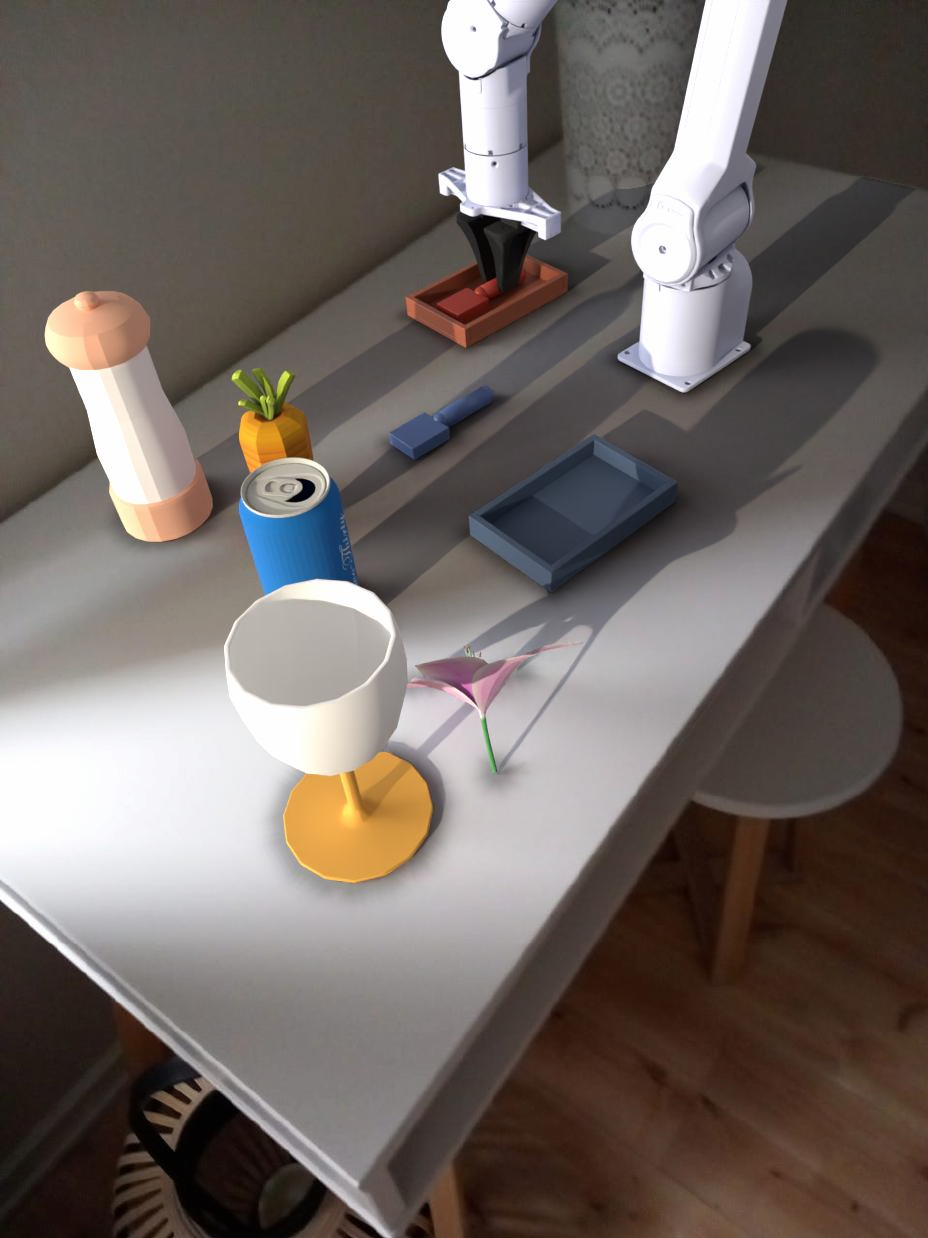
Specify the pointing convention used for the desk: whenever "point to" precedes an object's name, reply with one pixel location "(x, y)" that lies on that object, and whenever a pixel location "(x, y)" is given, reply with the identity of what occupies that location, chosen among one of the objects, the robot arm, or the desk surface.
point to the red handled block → (472, 300)
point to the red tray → (503, 308)
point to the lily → (474, 680)
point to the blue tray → (572, 511)
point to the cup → (332, 723)
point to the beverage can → (295, 524)
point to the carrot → (271, 421)
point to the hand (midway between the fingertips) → (501, 283)
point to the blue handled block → (437, 424)
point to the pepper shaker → (130, 415)
